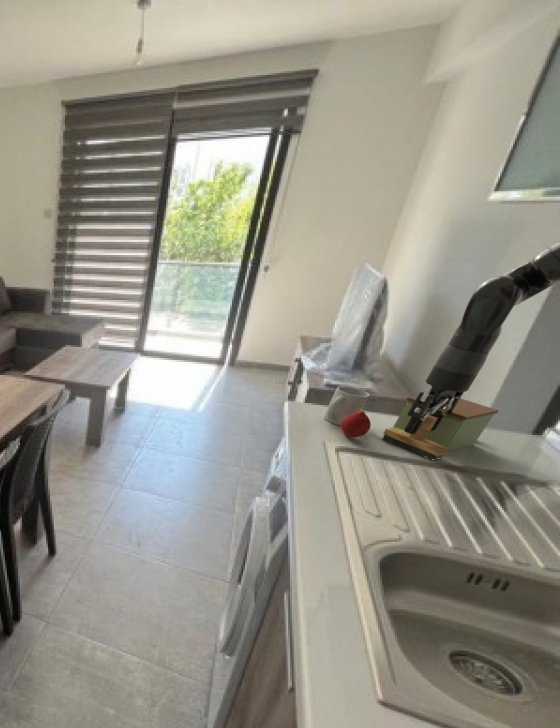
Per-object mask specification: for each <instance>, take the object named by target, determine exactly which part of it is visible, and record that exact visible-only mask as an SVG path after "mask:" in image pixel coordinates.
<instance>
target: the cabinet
mask: <svg viewBox="0 0 560 728" xmlns="http://www.w3.org/2000/svg"><path fill="white" fill-rule="evenodd" d="M417 397H418V395H413V396H408V397H406V399H405V400H406V403H405V405H404V407H403V409H402V410H401V413H400V414H399V415H398V417H397V419H396V421H395V423H394V424H393V427H397V428H399V429H402V430H405V428H406V426H407V424H408V423H409V421H410V419H411V417H410V416H409V415H407V414H408V412H409V410H410V409H411V407H412V405H413V403H414V402H415V400H416V398H417ZM416 409H417V408H416ZM416 409H415V410H416ZM419 413H420V412H419ZM498 413H499V409H495V408H492V407H489V406H486V405H483V404H480V403H477V402H473V401H470V400H467V399H464V398H462V397H461V398H460V399H459V401H458V403H457V404H456V406H455V408H454V410H453V411H452V413H451V414H447V415H446V416H445V417H443V418H442V420H441V422H440V423H439V425H438V427H437V428H436V430H434V431H430V432H429V434H428V436H427V437H426V439H427V440H430V441H432V442H435V443H438V444H440V445H443V446H445V447H448V448H450V449H449V451H448V452H451V451H456V450H459V449H463V448H468V447H472V446H474V445H476V443H477V441H478V439H479V438H480V436H481V435H482V433H483V432H484V430H485V429H486V427H487V426H488V424H489V423H490V421H491V419H492V418H493V417H494V415H496V414H498ZM430 415H431V414H430Z"/></svg>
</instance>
